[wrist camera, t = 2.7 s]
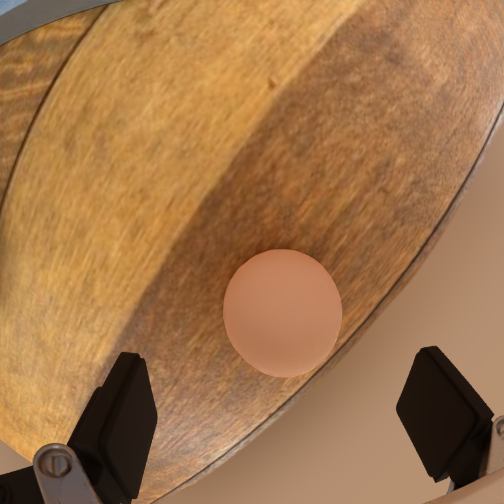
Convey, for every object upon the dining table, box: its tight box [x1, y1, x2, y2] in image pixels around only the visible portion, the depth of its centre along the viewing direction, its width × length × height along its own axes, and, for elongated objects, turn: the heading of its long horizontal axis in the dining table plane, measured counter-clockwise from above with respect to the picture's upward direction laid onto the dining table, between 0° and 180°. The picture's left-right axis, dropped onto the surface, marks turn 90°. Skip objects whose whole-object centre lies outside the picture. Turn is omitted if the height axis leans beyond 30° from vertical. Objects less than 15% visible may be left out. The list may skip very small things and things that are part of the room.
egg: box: [223, 249, 342, 378], centre depth 15 cm, size 6×6×8 cm
